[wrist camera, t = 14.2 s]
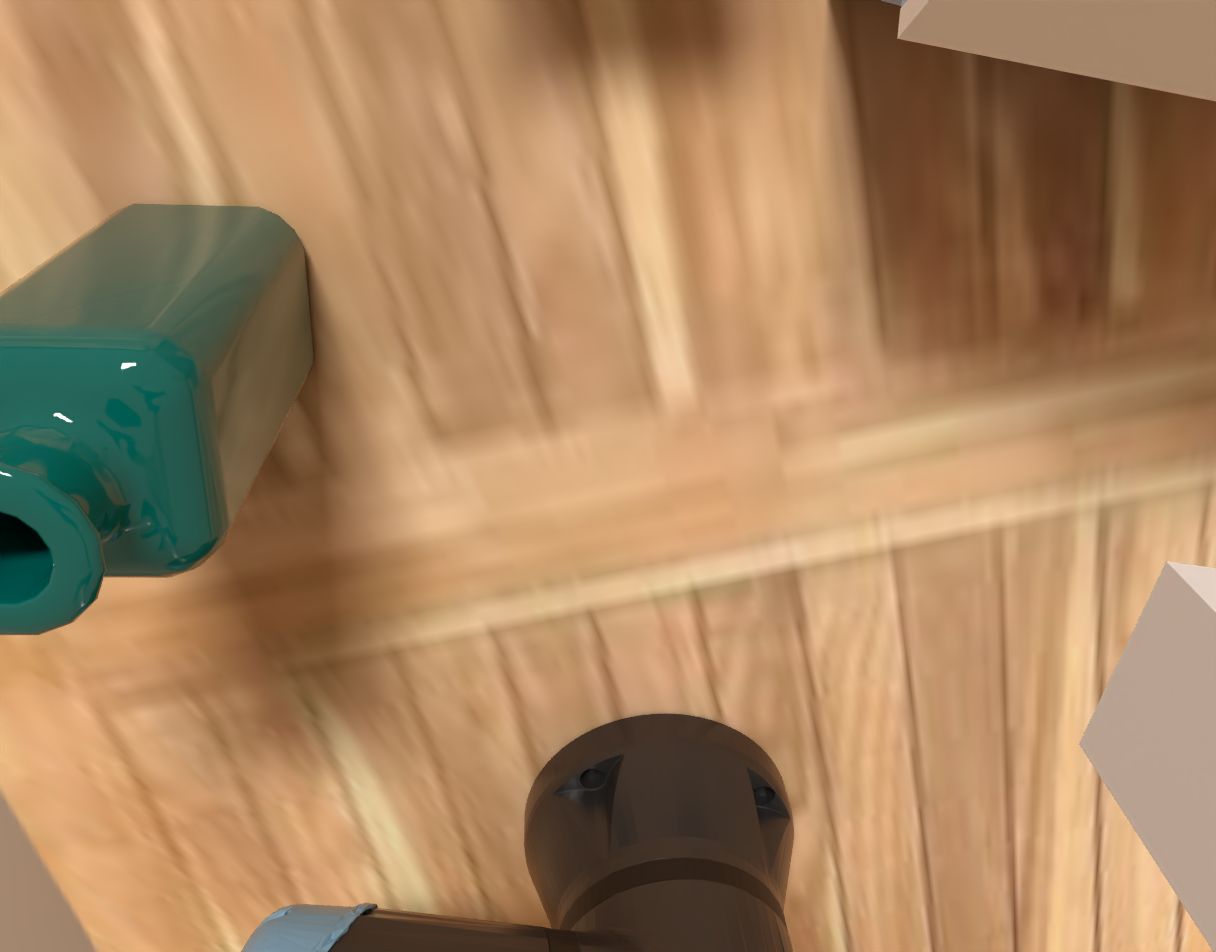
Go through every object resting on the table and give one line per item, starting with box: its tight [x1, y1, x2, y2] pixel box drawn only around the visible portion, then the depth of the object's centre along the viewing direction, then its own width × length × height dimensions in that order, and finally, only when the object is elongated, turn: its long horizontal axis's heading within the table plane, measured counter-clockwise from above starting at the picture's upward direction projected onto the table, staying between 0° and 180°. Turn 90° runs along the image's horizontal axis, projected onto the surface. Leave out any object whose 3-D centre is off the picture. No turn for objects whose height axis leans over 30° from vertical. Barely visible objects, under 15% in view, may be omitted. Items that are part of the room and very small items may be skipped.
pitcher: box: [0, 204, 314, 635], centre depth 38 cm, size 10×8×22 cm
